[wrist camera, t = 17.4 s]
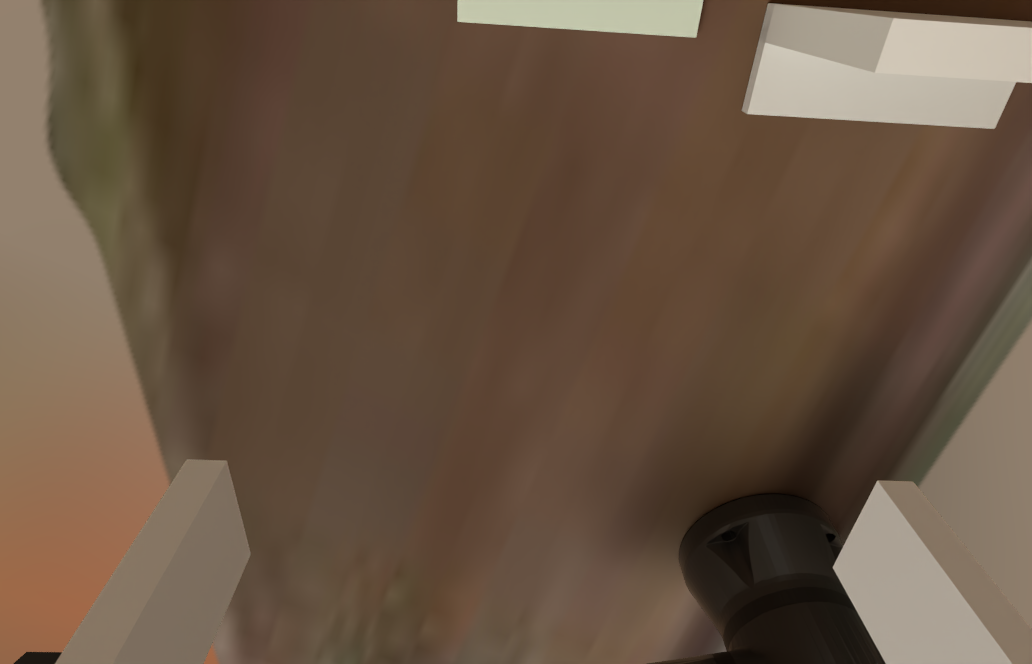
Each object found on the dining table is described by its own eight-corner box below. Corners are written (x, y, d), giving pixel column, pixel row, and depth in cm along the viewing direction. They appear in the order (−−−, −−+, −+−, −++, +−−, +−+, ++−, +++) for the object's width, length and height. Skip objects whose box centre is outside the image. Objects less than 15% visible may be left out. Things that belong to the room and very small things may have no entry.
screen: (983, 125, 39) (1178, 187, 27) (741, 110, 38) (841, 168, 27) (1030, 21, 36) (1271, 44, 24) (768, 3, 35) (893, 18, 24)
